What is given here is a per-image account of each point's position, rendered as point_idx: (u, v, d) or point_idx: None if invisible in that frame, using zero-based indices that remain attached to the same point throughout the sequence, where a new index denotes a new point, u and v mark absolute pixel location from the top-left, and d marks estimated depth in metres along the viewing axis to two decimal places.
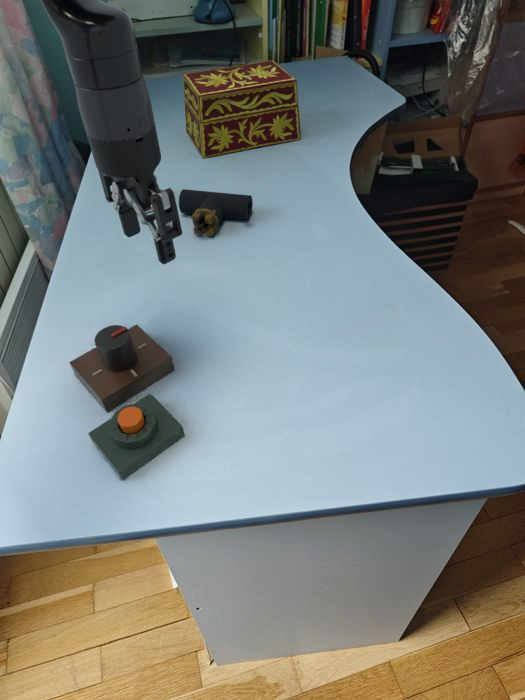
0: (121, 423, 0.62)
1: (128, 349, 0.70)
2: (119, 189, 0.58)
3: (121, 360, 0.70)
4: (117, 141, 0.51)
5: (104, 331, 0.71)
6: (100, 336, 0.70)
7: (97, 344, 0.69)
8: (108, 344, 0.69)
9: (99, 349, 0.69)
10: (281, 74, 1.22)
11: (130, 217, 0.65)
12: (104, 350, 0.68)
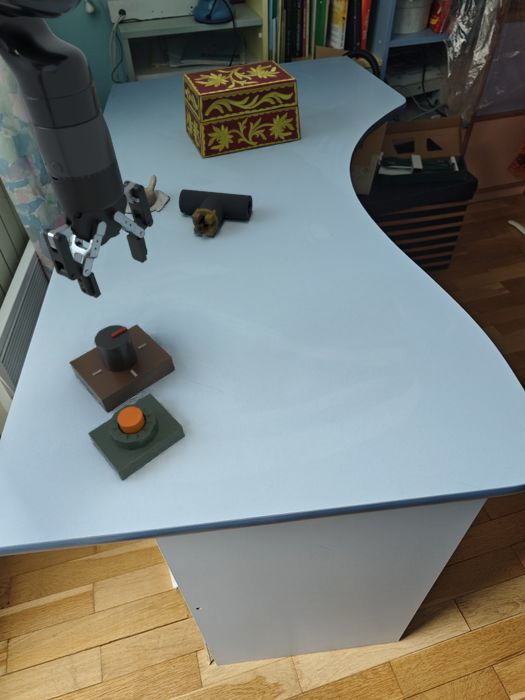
0: (121, 423, 0.62)
1: (128, 349, 0.70)
2: None
3: (121, 360, 0.70)
4: None
5: (104, 331, 0.71)
6: (100, 336, 0.70)
7: (97, 344, 0.69)
8: (108, 344, 0.69)
9: (99, 349, 0.69)
10: (281, 74, 1.22)
11: (134, 244, 0.64)
12: (104, 350, 0.68)
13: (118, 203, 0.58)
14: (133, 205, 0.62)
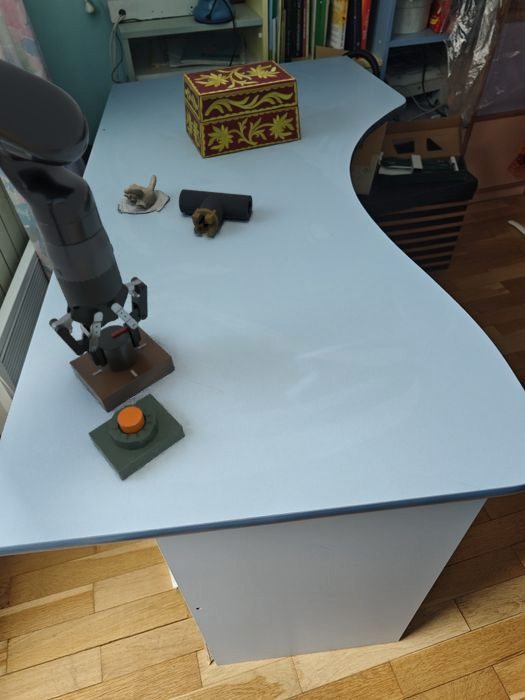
0: (121, 423, 0.62)
1: (128, 349, 0.70)
2: None
3: (121, 360, 0.70)
4: None
5: (104, 331, 0.71)
6: (100, 336, 0.70)
7: None
8: (108, 344, 0.69)
9: None
10: (281, 74, 1.22)
11: None
12: (104, 350, 0.68)
13: (118, 295, 0.65)
14: (134, 298, 0.69)
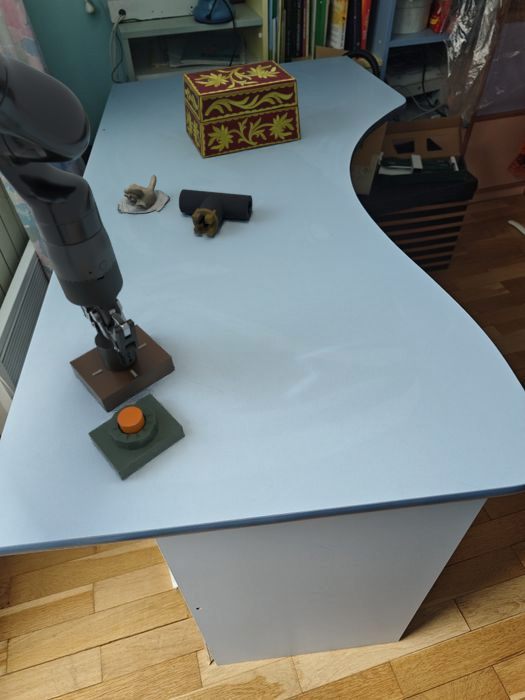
0: (121, 423, 0.62)
1: None
2: (86, 307, 0.65)
3: None
4: (80, 281, 0.58)
5: (102, 344, 0.69)
6: (109, 345, 0.69)
7: None
8: None
9: None
10: (281, 74, 1.22)
11: None
12: None
13: None
14: None
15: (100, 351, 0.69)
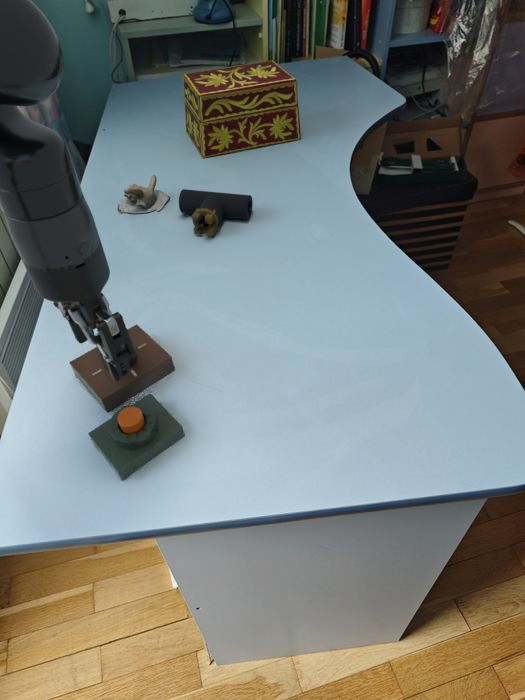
0: (121, 423, 0.62)
1: None
2: (64, 306, 0.52)
3: None
4: (54, 269, 0.45)
5: None
6: None
7: None
8: None
9: None
10: (281, 74, 1.22)
11: None
12: None
13: None
14: None
15: (100, 351, 0.69)
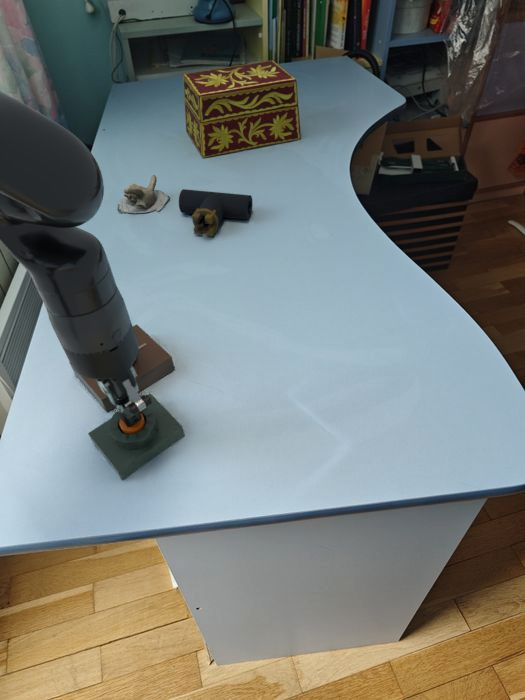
0: (123, 427, 0.63)
1: None
2: None
3: None
4: (90, 354, 0.49)
5: None
6: None
7: None
8: None
9: None
10: (281, 74, 1.22)
11: None
12: None
13: None
14: None
15: None
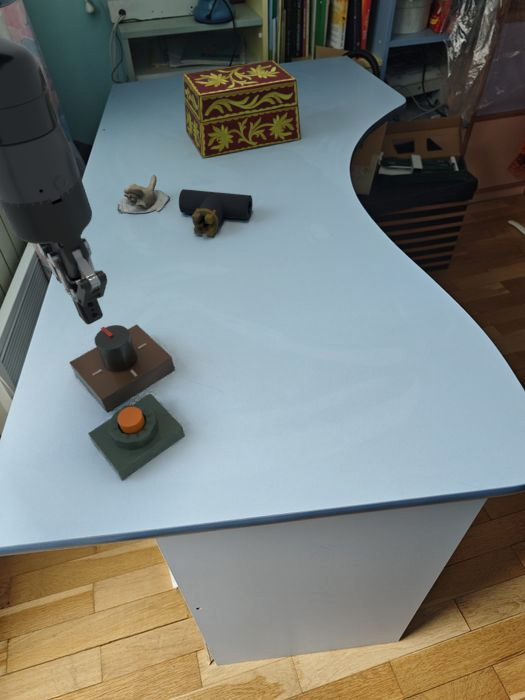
0: (121, 423, 0.62)
1: None
2: (43, 248, 0.49)
3: None
4: (28, 204, 0.42)
5: (102, 344, 0.69)
6: (109, 345, 0.69)
7: (120, 345, 0.69)
8: (122, 337, 0.70)
9: (125, 345, 0.69)
10: (280, 74, 1.22)
11: None
12: (128, 339, 0.70)
13: None
14: None
15: (100, 351, 0.69)
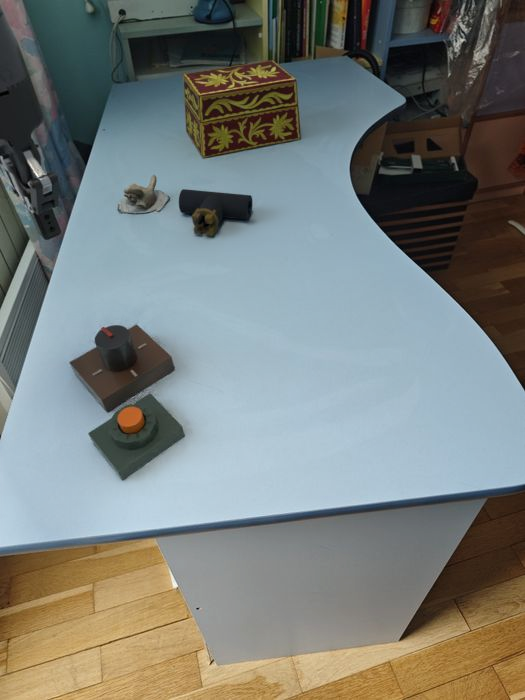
0: (121, 423, 0.62)
1: None
2: None
3: None
4: None
5: (102, 344, 0.69)
6: (109, 345, 0.69)
7: (120, 345, 0.69)
8: (122, 337, 0.70)
9: (125, 345, 0.69)
10: (280, 74, 1.22)
11: None
12: (128, 339, 0.70)
13: None
14: None
15: (100, 351, 0.69)
